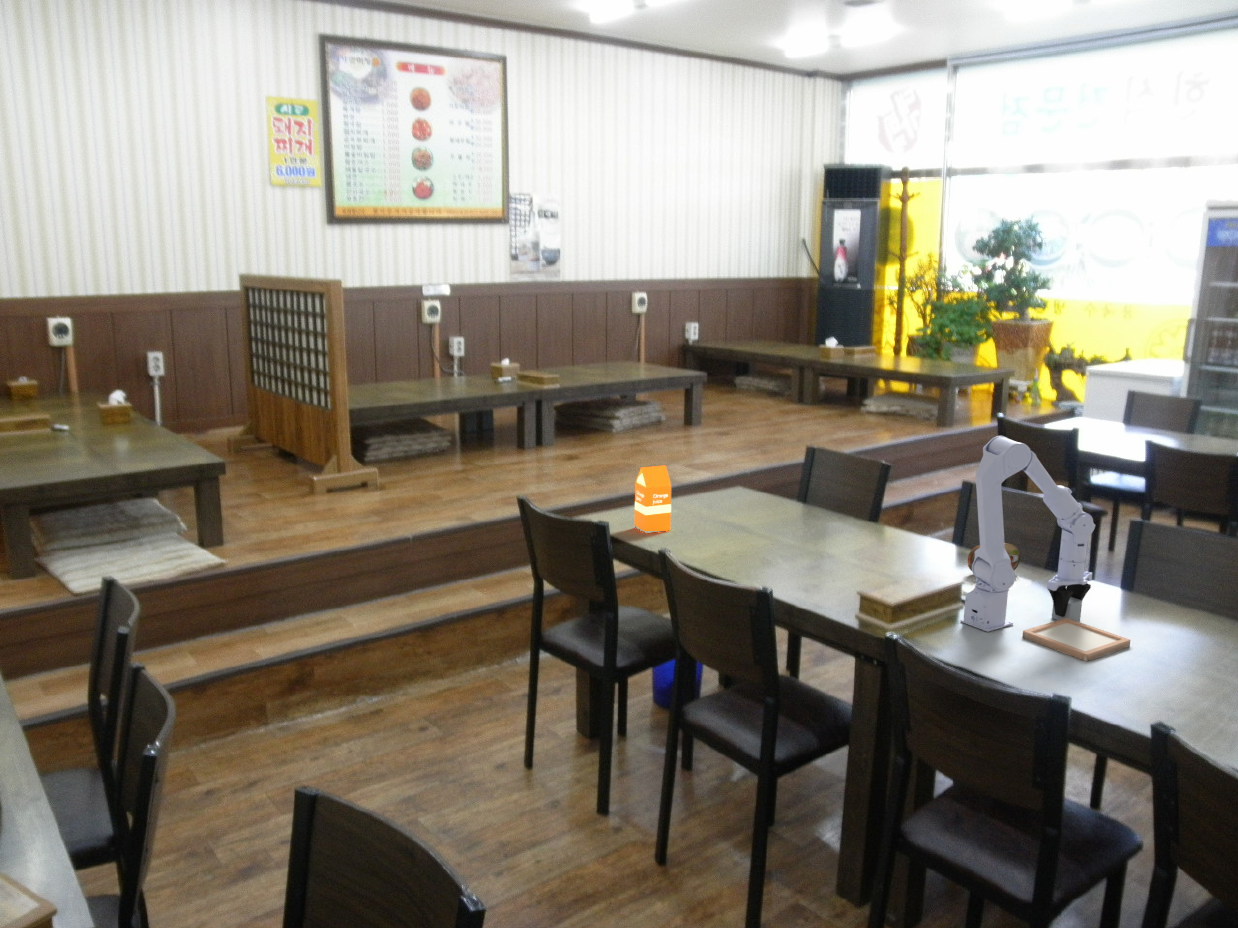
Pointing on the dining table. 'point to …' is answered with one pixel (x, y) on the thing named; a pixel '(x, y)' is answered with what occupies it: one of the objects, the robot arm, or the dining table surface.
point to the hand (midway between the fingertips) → (1066, 613)
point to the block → (1070, 610)
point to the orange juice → (653, 499)
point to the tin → (1010, 550)
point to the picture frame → (1076, 639)
